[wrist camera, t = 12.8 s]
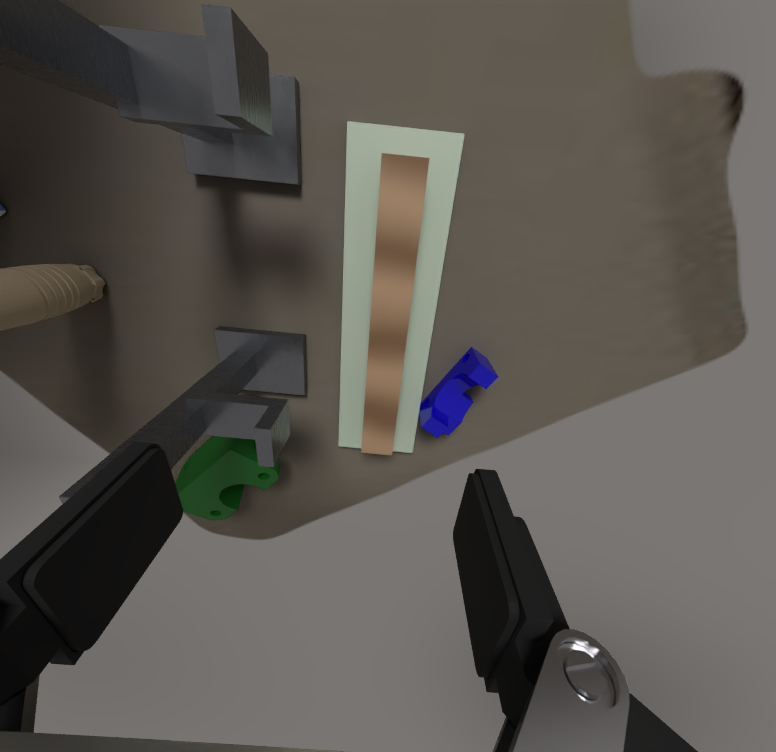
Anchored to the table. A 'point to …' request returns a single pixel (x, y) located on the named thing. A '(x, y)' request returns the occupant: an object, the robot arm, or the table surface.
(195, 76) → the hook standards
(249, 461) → the clamp
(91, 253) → the table surface
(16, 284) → the handle
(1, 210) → the ink cartridge box
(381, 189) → the rail
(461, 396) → the cable holder
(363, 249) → the board
